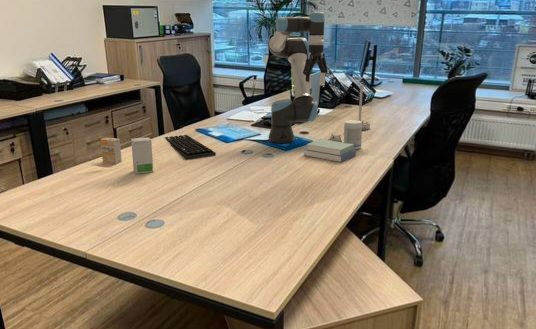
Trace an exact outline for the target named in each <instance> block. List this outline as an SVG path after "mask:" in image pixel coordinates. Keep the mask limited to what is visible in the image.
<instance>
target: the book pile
mask: <svg viewBox="0 0 536 329" xmlns="http://www.w3.org/2000/svg"><path fill="white" fill-rule="evenodd" d="M356 151H357V149H354V144H349V143H344V141H342V142H336V141H330V140H328V139H324V138H323V139H321V138H320V139H317V140H314V141H311V142H309V143H306V148H305V149H304V151H303V152H304V154H303V155H304V156H307V157H312V158H317V159H322V160H328V161H334V162H340V163H342V162H345V161H347V160H349V159H351V158H353V157H356V154H357V152H356Z"/></svg>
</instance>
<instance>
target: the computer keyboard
mask: <svg viewBox="0 0 536 329" xmlns="http://www.w3.org/2000/svg"><path fill="white" fill-rule="evenodd" d="M164 140H166V141H167V142H168V143H169V144H170V147H172V148H173V149H174V150H175V151H176V152H177V153H178V154H180V155H181V156H182V157H183V158H184V159H185V160H186V161H187V160H194V159H200V158H207V157H213V156H216V151H213V150H212V149H211V148H209V147H208V146H206V145H204V144H202V143H201V142H199V141H198V140H196V139H194V138H193V137H192V136H189V135H188V134H183V135H181V134H179V135H175V136H174V135H173V136H172V135H171V136H169V137H168V136H165V137H164Z"/></svg>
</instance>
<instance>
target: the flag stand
mask: <svg viewBox="0 0 536 329" xmlns="http://www.w3.org/2000/svg"><path fill="white" fill-rule="evenodd" d="M364 87H365V85H364V84H362V83H361V84H359V86H358V88H359V106H358V121H361V122H362V131H364V130H368V129H369V128H371V122H369V121H364V120H362V110H363V109H362V108H363V105H362V104H363V91H364V90H363V89H364Z"/></svg>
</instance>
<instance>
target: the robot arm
mask: <svg viewBox="0 0 536 329" xmlns="http://www.w3.org/2000/svg"><path fill="white" fill-rule="evenodd" d="M325 20H326V18H325V13H324V12H322V11H313V12H309V16H279V17H277V18H276V20H275V21H276V22H275V29H276V31H275V33H274V34H273V36H272V37H271V38H270V39H269V41H268V44H267V48H268V49H269V51H270V53H271V54H272V55H274V56H275V57H277V58H286V59H287V60H288V62H289V63H290V66H291V73H292V74H291V75H292V80H293V88H294V95H295V96H294V98H293V101H292V99H289V98H288V99H287V98H286V99H279V100H276V101H273V102H272V103H271V109H270V112H271V116H270V117H271V118H270V119H271V128H270V131H269V135H268V142H269V143H275V144H288V143H292V142H294V141H295V134H294V131H293V128H292V126H293V125H292V123H308V122H314V121H315V120H316V119H317V116H318V110H319V109H318V107H319V106H318V102H317V101H316V100H314V97H313V96H312V95H311V94H310V93H311V92H310V89H311V88H312V75H311V74H312V71H313V70H314V67H315V65H316V64H317V66H318V69H319V71H320V72H319V86H325V84H326V73H327V74H328V70H329V68H328V65H327V62H326V53H323V52H324V49H325V48H324V42H325ZM292 33H308V39H307V38H305V37H290V36H291V34H292Z"/></svg>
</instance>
